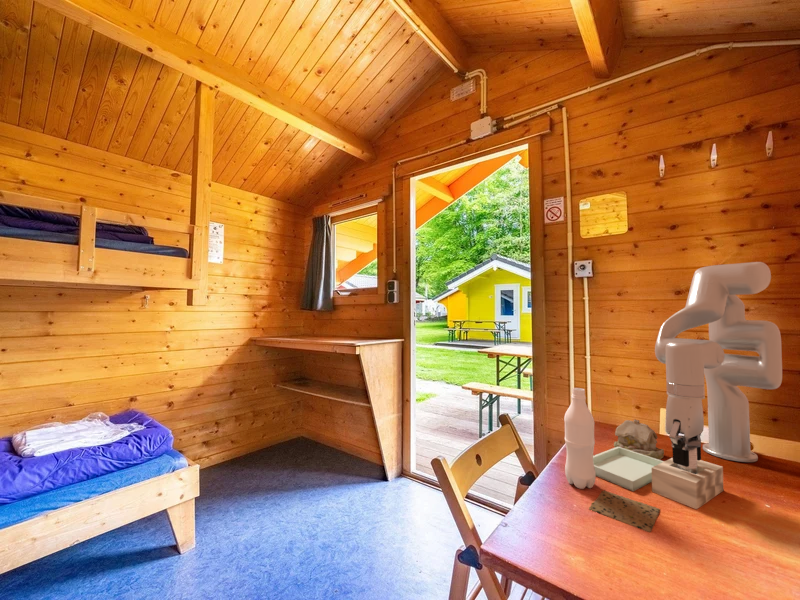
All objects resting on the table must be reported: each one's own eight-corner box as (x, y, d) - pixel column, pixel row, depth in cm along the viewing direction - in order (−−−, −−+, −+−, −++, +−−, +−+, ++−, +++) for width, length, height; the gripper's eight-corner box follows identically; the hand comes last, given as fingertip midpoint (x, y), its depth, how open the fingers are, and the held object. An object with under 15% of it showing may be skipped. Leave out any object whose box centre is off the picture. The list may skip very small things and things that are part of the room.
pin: (679, 483, 91) (678, 433, 92) (706, 493, 86) (704, 440, 87) (669, 489, 88) (668, 437, 89) (696, 499, 83) (695, 445, 84)
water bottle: (600, 492, 87) (598, 392, 87) (569, 489, 88) (567, 391, 89) (590, 479, 94) (588, 386, 94) (562, 476, 95) (560, 385, 96)
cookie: (661, 510, 80) (661, 506, 80) (650, 535, 71) (650, 530, 71) (603, 491, 88) (603, 487, 88) (587, 511, 80) (587, 507, 80)
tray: (617, 454, 109) (617, 446, 110) (670, 472, 97) (669, 463, 97) (580, 469, 99) (580, 460, 99) (633, 491, 87) (632, 481, 87)
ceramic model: (606, 446, 116) (605, 416, 116) (624, 440, 121) (623, 411, 122) (653, 463, 104) (652, 429, 104) (671, 455, 109) (670, 423, 109)
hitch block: (680, 475, 95) (680, 453, 95) (723, 490, 87) (722, 466, 88) (652, 491, 87) (651, 467, 87) (696, 509, 79) (695, 482, 80)
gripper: (682, 383, 96) (684, 449, 95) (651, 391, 87) (653, 463, 86) (717, 388, 89) (719, 459, 89) (688, 397, 80) (690, 476, 80)
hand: (687, 460), depth 87 cm, fingers open, 6 cm apart
